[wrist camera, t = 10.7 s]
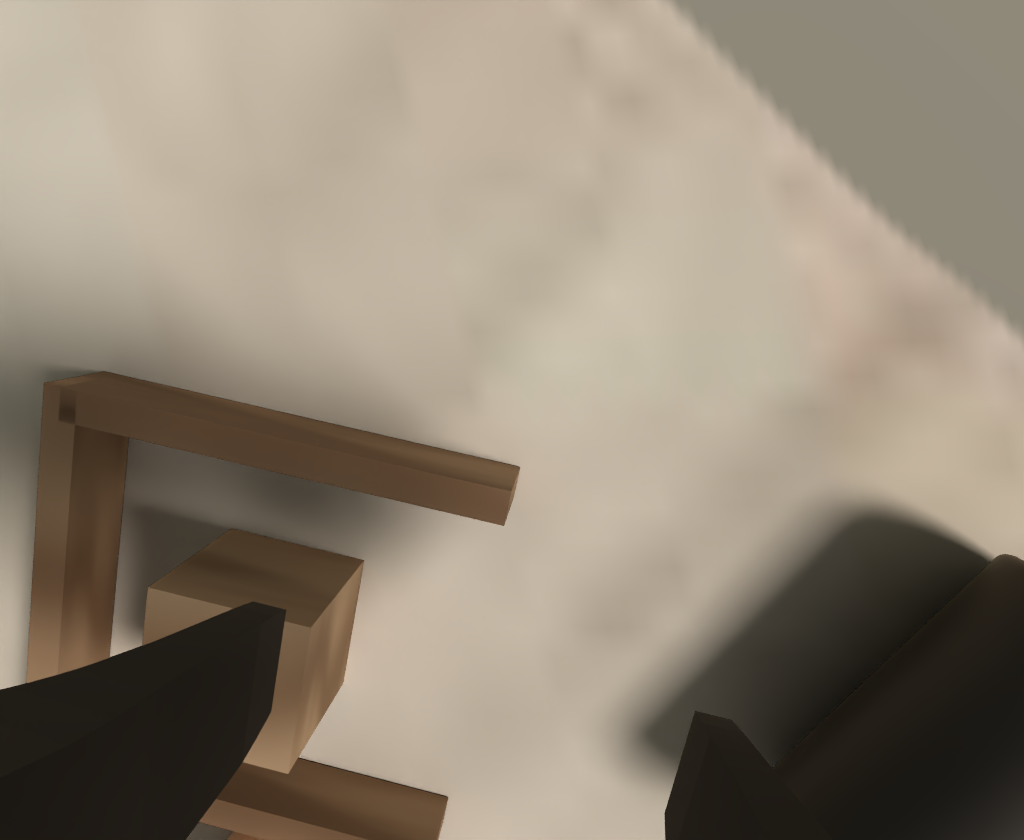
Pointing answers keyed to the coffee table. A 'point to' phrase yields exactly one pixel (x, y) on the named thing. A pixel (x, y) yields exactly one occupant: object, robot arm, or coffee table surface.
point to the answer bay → (254, 442)
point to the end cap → (929, 729)
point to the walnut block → (307, 628)
